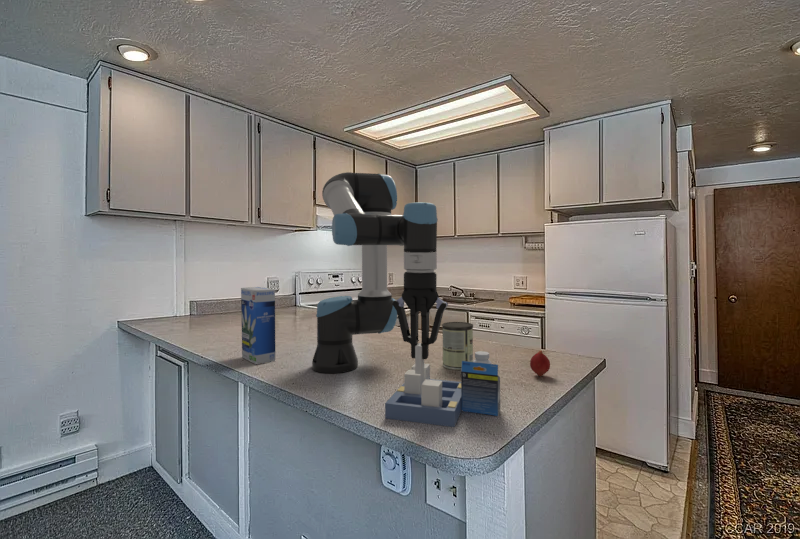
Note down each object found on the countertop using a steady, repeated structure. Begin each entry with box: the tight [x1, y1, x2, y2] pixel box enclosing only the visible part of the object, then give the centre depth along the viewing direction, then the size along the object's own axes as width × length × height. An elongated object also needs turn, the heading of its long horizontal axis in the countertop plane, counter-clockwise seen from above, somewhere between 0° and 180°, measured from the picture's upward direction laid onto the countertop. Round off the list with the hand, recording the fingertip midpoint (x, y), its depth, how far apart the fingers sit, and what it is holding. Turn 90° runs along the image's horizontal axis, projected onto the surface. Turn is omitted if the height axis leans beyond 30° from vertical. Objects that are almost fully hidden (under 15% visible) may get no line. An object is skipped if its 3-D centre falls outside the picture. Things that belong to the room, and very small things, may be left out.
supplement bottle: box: [473, 350, 493, 371], centre depth 111 cm, size 5×5×10 cm
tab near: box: [421, 379, 442, 408], centre depth 90 cm, size 4×4×6 cm
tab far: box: [411, 363, 431, 381], centre depth 105 cm, size 4×4×6 cm
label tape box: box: [460, 361, 501, 417], centre depth 94 cm, size 9×4×12 cm, turn 68°
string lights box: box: [240, 286, 276, 365], centre depth 142 cm, size 13×8×26 cm, turn 43°
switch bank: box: [384, 378, 462, 428], centre depth 97 cm, size 16×20×4 cm
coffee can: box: [441, 321, 474, 371], centre depth 132 cm, size 10×10×14 cm
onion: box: [529, 350, 551, 377], centre depth 121 cm, size 6×6×8 cm
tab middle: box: [403, 369, 424, 395], centre depth 98 cm, size 4×4×6 cm
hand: (419, 372), depth 91 cm, fingers closed
